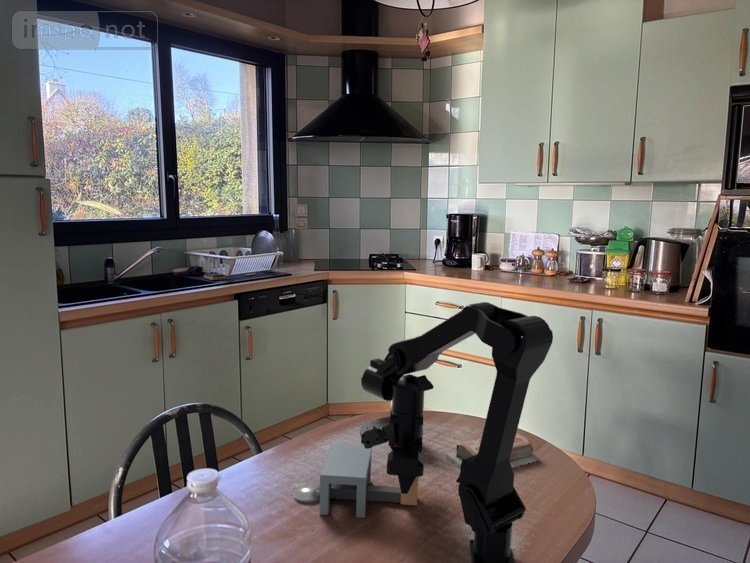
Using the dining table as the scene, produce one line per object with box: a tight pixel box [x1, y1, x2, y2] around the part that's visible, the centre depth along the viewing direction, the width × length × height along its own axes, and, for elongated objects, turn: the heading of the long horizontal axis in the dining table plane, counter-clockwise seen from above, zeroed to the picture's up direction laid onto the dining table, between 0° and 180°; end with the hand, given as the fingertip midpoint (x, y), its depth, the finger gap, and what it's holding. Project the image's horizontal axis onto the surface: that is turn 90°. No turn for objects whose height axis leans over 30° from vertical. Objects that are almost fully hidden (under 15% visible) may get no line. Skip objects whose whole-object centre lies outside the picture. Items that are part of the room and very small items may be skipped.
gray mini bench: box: [319, 442, 373, 519], centre depth 108 cm, size 13×8×8 cm, turn 176°
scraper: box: [329, 477, 419, 506], centre depth 108 cm, size 7×18×7 cm, turn 86°
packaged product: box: [445, 431, 540, 469], centre depth 125 cm, size 18×5×10 cm
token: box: [292, 480, 320, 504], centre depth 109 cm, size 6×6×2 cm
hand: (404, 488), depth 107 cm, fingers closed on scraper, 3 cm apart
